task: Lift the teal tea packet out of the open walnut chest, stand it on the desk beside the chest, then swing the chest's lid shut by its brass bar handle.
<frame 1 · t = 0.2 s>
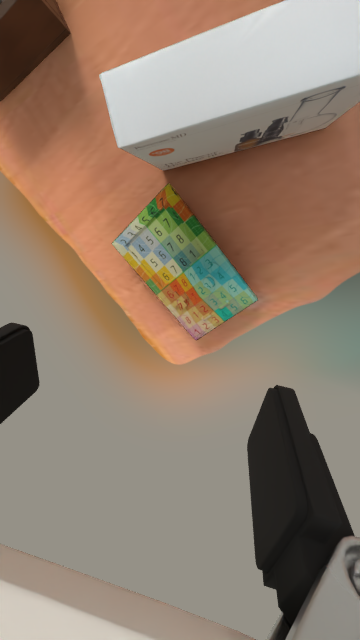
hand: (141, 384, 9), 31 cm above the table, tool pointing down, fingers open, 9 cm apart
skincare box: (237, 132, 30), on the table
puzzle game: (188, 266, 39), on the table
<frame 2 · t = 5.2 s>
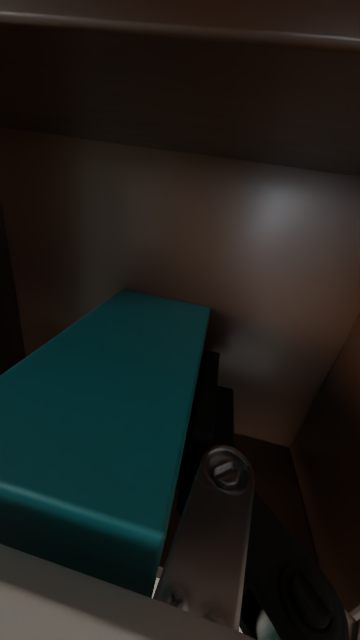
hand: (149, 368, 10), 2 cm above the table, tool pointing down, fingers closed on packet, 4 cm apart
packet: (159, 350, 11), point 1 cm above the table, touching chest, gripper
chest: (168, 306, 11), on the table
when the fingers open (1 cm above the table, at t = 12.9 s): packet stays where it is, on the table.
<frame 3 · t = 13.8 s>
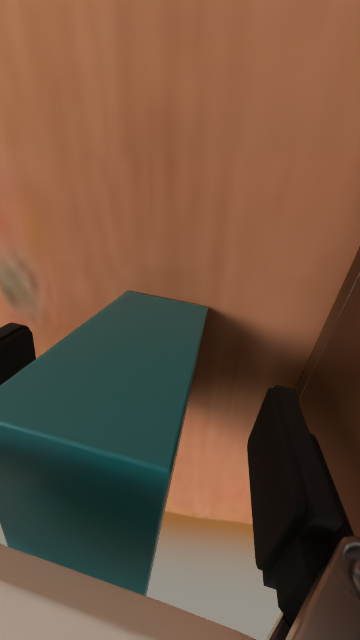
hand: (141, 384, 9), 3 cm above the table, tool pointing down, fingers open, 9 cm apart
packet: (161, 346, 13), on the table
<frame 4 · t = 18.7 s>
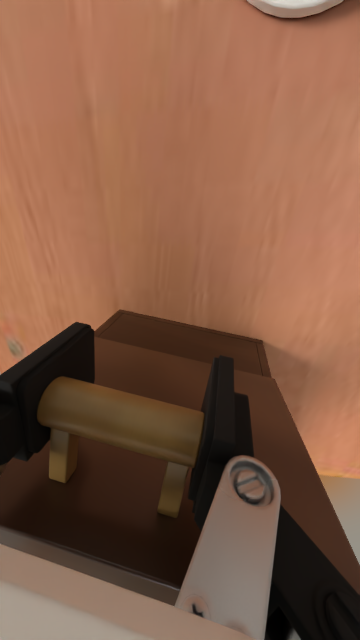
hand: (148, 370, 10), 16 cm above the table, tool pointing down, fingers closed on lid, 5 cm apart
lid: (157, 381, 13), point 14 cm above the table, hinge at 100.0°, touching gripper
chest: (179, 372, 30), on the table
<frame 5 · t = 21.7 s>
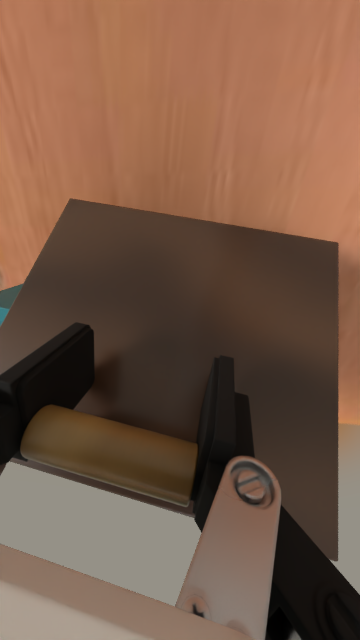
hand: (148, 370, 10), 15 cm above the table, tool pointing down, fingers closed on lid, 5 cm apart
packet: (57, 303, 28), on the table
lid: (162, 316, 10), point 14 cm above the table, hinge at 45.5°, touching gripper
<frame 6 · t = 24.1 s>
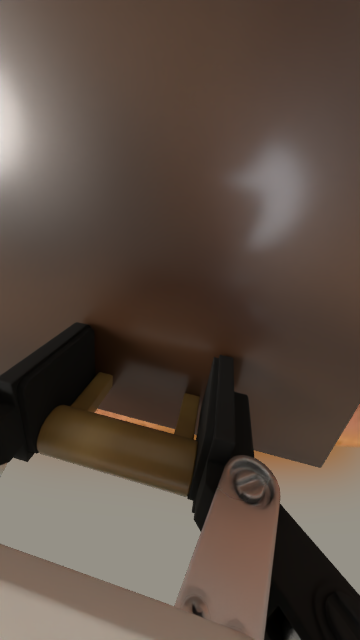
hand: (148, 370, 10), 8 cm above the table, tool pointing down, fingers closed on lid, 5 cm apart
lid: (148, 287, 7), point 9 cm above the table, hinge at -0.2°, touching chest, gripper
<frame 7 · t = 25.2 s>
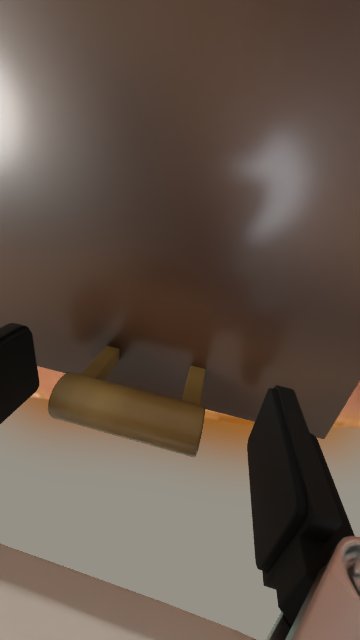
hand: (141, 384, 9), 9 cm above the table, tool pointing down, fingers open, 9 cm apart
lid: (156, 252, 7), point 9 cm above the table, hinge at -0.2°, touching chest
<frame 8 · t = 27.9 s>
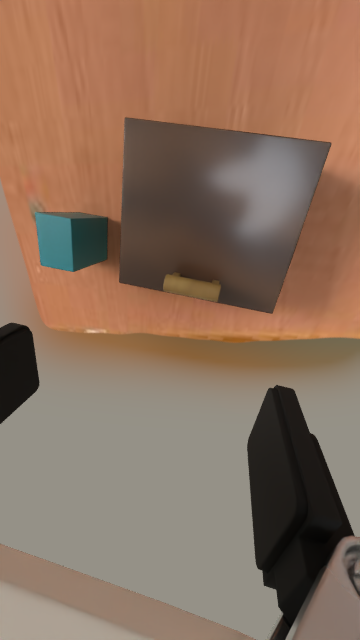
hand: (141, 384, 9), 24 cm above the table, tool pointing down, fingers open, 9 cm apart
packet: (93, 236, 32), on the table
lid: (204, 226, 21), point 9 cm above the table, hinge at -0.2°, touching chest
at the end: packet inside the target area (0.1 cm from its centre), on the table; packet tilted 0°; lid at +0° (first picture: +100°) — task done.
